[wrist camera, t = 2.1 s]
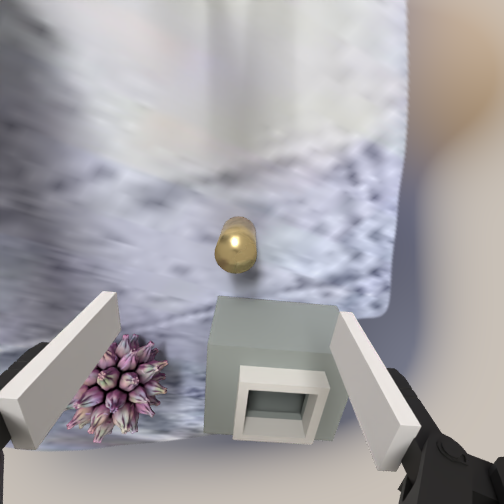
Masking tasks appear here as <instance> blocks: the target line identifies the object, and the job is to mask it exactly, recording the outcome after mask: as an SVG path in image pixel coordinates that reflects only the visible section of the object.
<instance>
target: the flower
mask: <svg viewBox="0 0 504 504" xmlns="http://www.w3.org/2000/svg"><path fill="white" fill-rule="evenodd" d="M138 337H139V336H138V335H135V334H133V335H132V338H131V339H130V340H129V335H128V334H127V335H126V334H125V335H123V339H122V341H121V342H120V343H119V345H117V343H116V342H115V343H112V344H111V345H110V347H109V348H108V350H107V351H106V352H105V354H104V355H103V357H102V358H101V359H100V361H99V362H98V364H97V365H96V366H95V368H94V369H93V371H92V372H91V374H90V375H89V376H88V378H87V379H86V381H85V382H84V383H83V385H82V386H81V388H80V389H79V390H78V392H77V393H76V395H75V396H74V397H73V399H72V400H71V402H70V403H69V405H68V406H67V407H66V409H65V410H64V411H66V410H69V409H78V410H77V411H76V413H75V415H74V417H73V419H72V420H71V421H70V422H69V423H68V424H67V425H66V426H67V427H68V428H67V429H71V428H72V427H74V426H75V425H77V424H79V425H78V426H79V429H81V428H83V427H84V426H85V425H86V424H87V423H90V422H91V425H90V428H89V429H88V431H87V432H88V433H89V434H93V433H94V432H95V437H94V440H93V442H96V443H98V442H99V443H101V441H102V439H103V437H104V436H105V435H106V434H108V435H109V434H111V433H112V429H113V427H114V426H115V425H117V426H118V427H119V428H120V429H121V432H122V434H126V433H127V432H129V431H130V432H131V433H132V434H133V433H134V432H138V426H137V423H138V418H139V413H142V414H147V415H149V416H151V417H153V416H154V414H155V413H154V412H153V411H152V409H151V407H150V405H155V406H158V405H160V401H158V400H157V399H156V397H155V395H158V394H161V393H163V394H165V393H167V390H166V389H167V388H165V387H163V386H161V385H160V384H159V383H158V382H159V381H160V380H164V379H165V377H166V376H165V374H164V373H160V371H161V370H162V369H163V368H164V367H165V366H166V365H168V361H167V360H164V361H156V360H154V358H155V355H156V354H157V353H158V352H159V351H158V349H157V348H155V349H153V350H151V349H152V347H153V346H154V343H153V342H151V341H150V342H149V343H148V344H147V345H145V346H143V347H140V348H139V344H138Z"/></svg>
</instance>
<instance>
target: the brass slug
mask: <svg viewBox="0 0 504 504" xmlns="http://www.w3.org/2000/svg"><path fill="white" fill-rule="evenodd" d="M256 257H257V250H256V232H255V227H254V225H253V224H252V222H251V221H250V220H248V219H247V218H244V217H233V218H230V219H229V220H227V221H226V222H225V224H224V225H223V228H222V231H221V234H220V237H219V240H218V242H217V245H216V248H215V259H216V262H217V263H218V265H219V266H220V267H221V268H222V269H223V270H225V271H227V272H230V273H243V272H245V271H247V270H249V269H250V268H251V267H252V266H253V265H254V263H255V261H256Z"/></svg>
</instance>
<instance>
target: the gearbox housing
mask: <svg viewBox="0 0 504 504" xmlns="http://www.w3.org/2000/svg"><path fill="white" fill-rule="evenodd" d="M338 316H339V310H338V308H337V306H332V305H320V304H308V303H297V302H285V301H273V300H262V299H250V298H238V297H226V296H218V298H217V303H216V308H215V312H214V317H213V321H212V326H211V331H210V335H209V340H208V345H207V367H206V390H205V412H204V433H209V434H226V435H233V440H245V441H262V442H278V443H279V442H280V443H296V444H313V441H314V440H325V441H333V438H334V435H335V433H336V430H337V427H338V424H339V422H340V419H341V416H342V413H343V410H344V408H345V405H346V402H347V400H348V397H349V396H348V393H347V391H346V388H345V386H344V383H343V380H342V378H341V375H340V373H339V370H338V368H337V365H336V362H335V360H334V357H333V355H332V352H331V350H330V344H331V340H332V337H333V333H334V330H335V326H336V323H337V319H338Z"/></svg>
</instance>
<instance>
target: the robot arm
mask: <svg viewBox="0 0 504 504" xmlns="http://www.w3.org/2000/svg"><path fill="white" fill-rule="evenodd" d="M120 331H121V326H120V318H119V310H118V302H117V293H116V292H107V291H102V292H101V293H100V294H99V295H98V296H97V297H96V298H95V299H94V300H93V301H92V302H91V303H90V304H89V305H88V306H87V307H86V308H85V309H84V310H83V311H82V312H81V313H80V314H79V315H78V316H77V317H76V318H75V319H74V320H73V321H72V322H71V323H70V324H69V325H67V326H66V327H65V328H64V329H63V330H62V331H61V332H60V333H59V334H58V335H57V336H56V337H55V338H54V339H53V340H52V341H51V342H50V343H46V342H41V343H39V344H38V345H36V346H34V347H33V348H31V349H29V350H28V351H26V352H25V353H24V354H23V355H22V356H21V357H20V358H19V359H18V360H17V362H14V363H13V364H12V365H11V366H10V367H9V368H8V370H6V371H4V372H3V373H2V374H1V375H0V504H3V472H4V470H3V469H4V454H3V451H2V449H3V448H4V447H5V445H6V444H7V443H8V442H9V441H10V439H11V441H12V443H13V445H14V448H15V449H26V450H37V448H38V447H39V445H40V444H41V443H42V441H43V440H44V438H45V437H46V435H47V434H48V433H49V431H50V430H51V428H52V427H53V426H54V424H55V423H56V421H57V420H58V419H59V417H60V416H61V414H62V413H63V412H64V410H65V409H66V407H67V406H68V405H69V403H70V402H71V400H72V399H73V397H74V396H75V395H76V393H77V392H78V390H79V389H80V388H81V386H82V385H83V383H84V382H85V381H86V379H87V378H88V376H89V375H90V374H91V372H92V371H93V369H94V368H95V366H96V365H97V364H98V362H99V361H100V359H101V358H102V357H103V355H104V354H105V352H106V351H107V350H108V348H109V347H110V345H111V344H112V343H113V341H114V340H115V338H116V337H117V336H118V334H119V333H120ZM330 350H331V352H332V355H333V357H334V360H335V362H336V365H337V368H338V370H339V373H340V375H341V378H342V380H343V383H344V386H345V388H346V391H347V393H348V396H349V398H350V401H351V403H352V406H353V409H354V411H355V414H356V416H357V419H358V422H359V424H360V427H361V429H362V432H363V434H364V437H365V440H366V442H367V445H368V447H369V450H370V453H371V455H372V457H373V460H374V463H375V465H376V468H377V470H378V471H397V469H398V468H399V466H400V464H401V463H402V465H403V467H404V469H405V471H406V473H407V474H406V476H405V478H404V480H403V481H402V483H401V485H400V486H399V488H398V490H399V491H401V495H400V500H399V504H504V457H499V458H498V459H497V460H496V461H495V462H494V464H493V463H490V462H488V461H485V460H482V459H480V458H477V457H474V456H472V455H469V454H467V453H466V451H465V450H464V449H463V448H462V447H461V446H460V445H459V444H458V443H457V442H456V441H454V440H453V439H452V438H450V437H448V436H446V435H444V434H442V433H441V432H440V430H439V428H438V427H437V425H436V424H435V422H434V421H433V419H432V418H431V416H430V415H429V413H428V412H427V410H426V409H425V407H424V406H423V404H422V403H421V401H420V400H419V399H418V398H417V395H416V394H415V392H414V391H413V390H412V388H411V386H410V385H409V383H408V382H407V380H406V379H405V377H404V376H402V375H401V374H400V373H399V372H398V371H397V370H396V369H394V368H385V366H384V364H383V362H382V361H381V359H380V358H379V356H378V354H377V353H376V351H375V349H374V348H373V346H372V344H371V343H370V341H369V340H368V338H367V336H366V334H365V333H364V331H363V329H362V328H361V326H360V325H359V323H358V321H357V320H356V318H355V316H354V315H353V313H352V312H339V316H338V319H337V323H336V326H335V330H334V333H333V337H332V340H331V344H330Z"/></svg>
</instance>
